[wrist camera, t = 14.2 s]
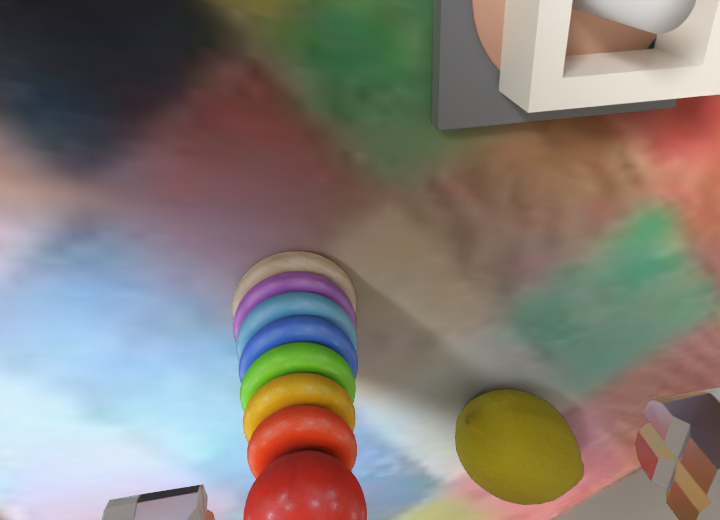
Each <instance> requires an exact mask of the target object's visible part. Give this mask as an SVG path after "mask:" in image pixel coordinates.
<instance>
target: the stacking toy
mask: <svg viewBox="0 0 720 520" xmlns="http://www.w3.org/2000/svg"><path fill="white" fill-rule="evenodd" d="M356 305H357V302H356V294H355V290H354V287H353V285H352V283H351V281H350V279H349V277H348V276H347V275H346V273H345V272H344V271H343V270H342V269H341V268H340V267H339V266H338V265H337V264H335V263H334V262H332V261H331V260H329V259H327V258H325V257H323V256H321V255H318V254H315V253H311V252H304V251H288V252H282V253H278V254H274V255H271V256H269V257H267V258H264V259H263V260H261V261H259V262H258V263H256V264H255V265H253V266H252V267H251V268H250V269H249V270H248V271H247V272H246V273H245V274H244V275H243V277H242V278H241V280H240V281H239V283H238V285H237V287H236V289H235V292H234V295H233V300H232V315H233V320H234V322H233V332H234V337H235V341H236V350H237V356H238V359H239V377H240V381H241V389H240V400H241V405H242V408H243V410H244V416H243V429H244V434H245V437H246V439H247V441H248V443H249V444H248V449H247V459H248V464H249V467H250V470H251V472H252V473H253V475H254V477H255V478H256V480H255V482H254V483H253V485H252V487H251V489H250V491H249V494H248V497H247V500H246V505H245V509H244V519H243V520H367V509H366V502H365V498H364V495H363V491H362V489H361V486H360V484H359V482H358V481H357V479H356V477H355V476H354V475H353V473H352V472H351V470H352V468H353V466H354V464H355V460H356V456H357V444H356V440H355V436H354V434H353V430H354V426H355V409H354V406H353V402H354V398H355V390H356V389H355V378H356V374H357V368H358V359H357V354H356V351H357V333H356V315H355V313H356Z"/></svg>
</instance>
